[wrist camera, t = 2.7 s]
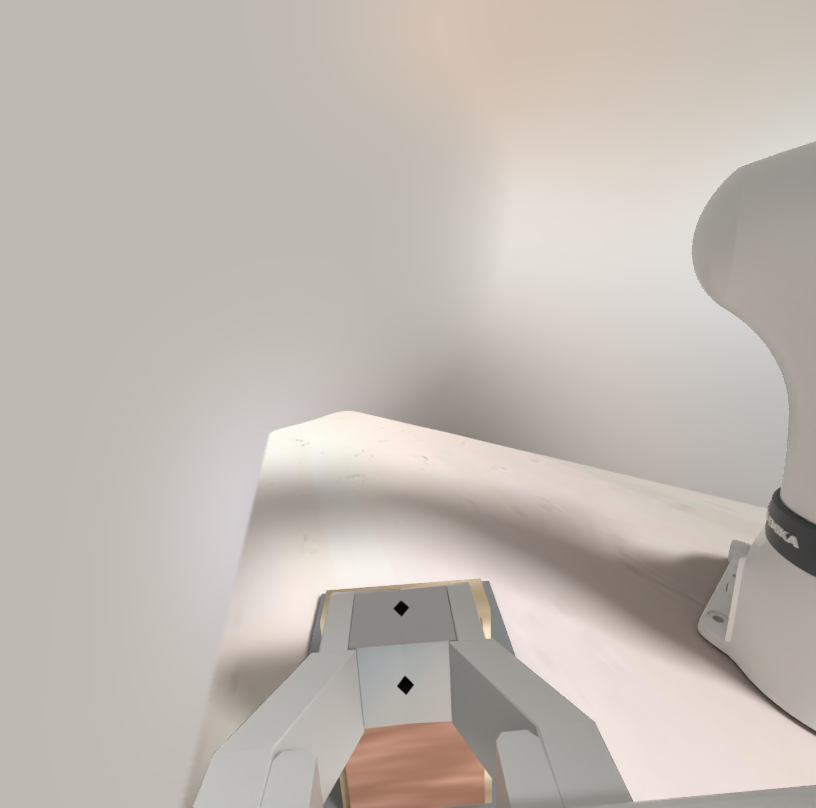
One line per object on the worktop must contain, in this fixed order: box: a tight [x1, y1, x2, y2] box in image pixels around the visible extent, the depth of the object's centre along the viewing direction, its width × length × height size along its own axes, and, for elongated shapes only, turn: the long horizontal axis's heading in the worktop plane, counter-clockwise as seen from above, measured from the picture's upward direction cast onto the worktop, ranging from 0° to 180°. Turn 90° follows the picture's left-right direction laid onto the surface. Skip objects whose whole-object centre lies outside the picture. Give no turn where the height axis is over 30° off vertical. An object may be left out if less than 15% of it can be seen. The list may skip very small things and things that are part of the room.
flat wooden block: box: [320, 579, 492, 808], centre depth 25 cm, size 3×9×14 cm, turn 93°
